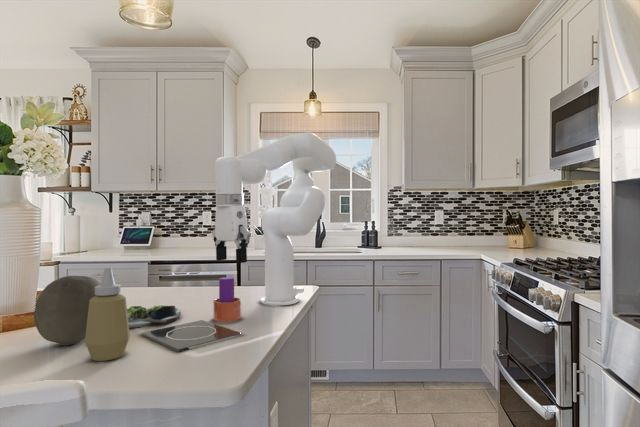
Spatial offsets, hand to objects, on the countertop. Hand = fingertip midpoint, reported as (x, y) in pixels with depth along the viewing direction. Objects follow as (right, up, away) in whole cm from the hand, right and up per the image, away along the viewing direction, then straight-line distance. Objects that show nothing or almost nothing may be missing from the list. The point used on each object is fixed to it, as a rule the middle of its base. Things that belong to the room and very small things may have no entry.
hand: (231, 261), depth 113 cm
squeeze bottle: (-18, -16, -33) cm, 40 cm away
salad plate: (-21, -16, -4) cm, 27 cm away
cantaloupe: (-31, -16, -23) cm, 42 cm away
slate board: (-5, -16, -18) cm, 24 cm away
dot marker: (0, -15, -4) cm, 16 cm away
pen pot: (0, -16, -4) cm, 16 cm away
